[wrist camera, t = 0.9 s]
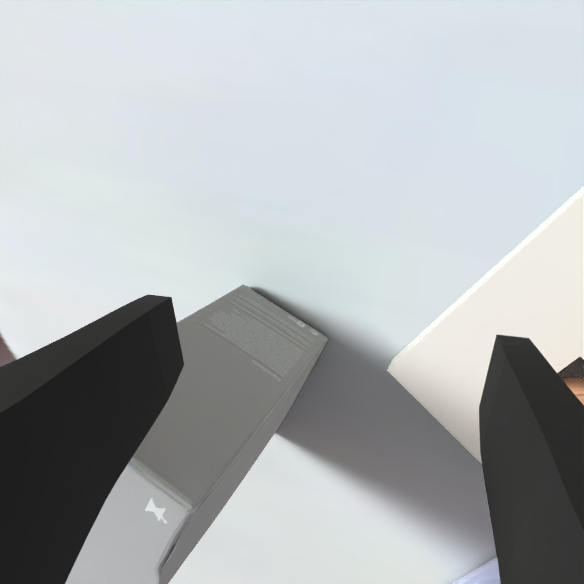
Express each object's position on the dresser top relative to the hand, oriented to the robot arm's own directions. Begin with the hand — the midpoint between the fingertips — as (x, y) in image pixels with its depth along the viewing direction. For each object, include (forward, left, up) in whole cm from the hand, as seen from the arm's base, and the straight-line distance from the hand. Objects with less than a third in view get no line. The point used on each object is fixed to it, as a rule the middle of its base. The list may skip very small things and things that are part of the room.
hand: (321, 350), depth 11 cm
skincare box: (+2, +12, -17) cm, 20 cm away
